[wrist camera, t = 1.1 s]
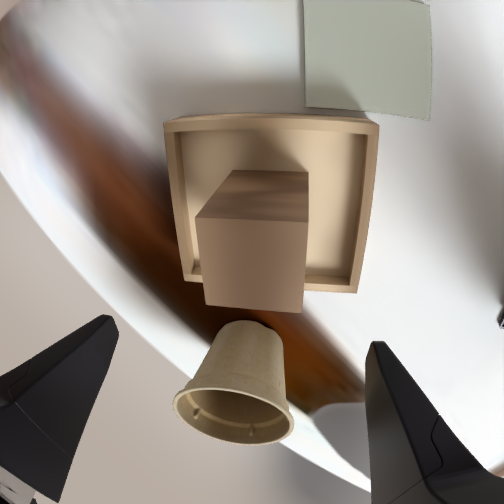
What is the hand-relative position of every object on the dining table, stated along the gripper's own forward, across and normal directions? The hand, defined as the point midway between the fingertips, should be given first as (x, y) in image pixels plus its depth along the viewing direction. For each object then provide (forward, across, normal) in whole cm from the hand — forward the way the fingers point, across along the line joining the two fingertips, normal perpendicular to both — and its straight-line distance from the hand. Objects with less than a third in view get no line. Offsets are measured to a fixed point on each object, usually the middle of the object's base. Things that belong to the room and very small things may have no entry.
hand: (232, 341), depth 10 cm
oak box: (+13, 0, 0) cm, 13 cm away
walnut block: (+11, 0, 0) cm, 11 cm away
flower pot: (+13, +2, +14) cm, 20 cm away
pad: (+13, -6, -10) cm, 18 cm away
